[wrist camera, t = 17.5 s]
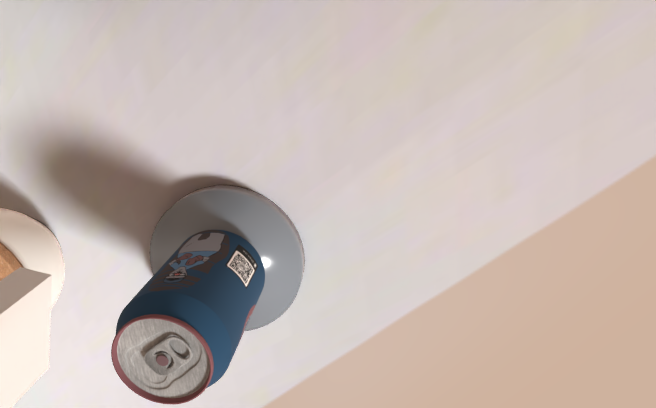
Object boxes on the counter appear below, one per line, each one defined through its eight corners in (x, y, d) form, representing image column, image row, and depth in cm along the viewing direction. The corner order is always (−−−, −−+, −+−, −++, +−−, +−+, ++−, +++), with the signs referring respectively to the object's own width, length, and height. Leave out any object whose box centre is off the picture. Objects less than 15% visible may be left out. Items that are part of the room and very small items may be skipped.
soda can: (221, 318, 40) (160, 431, 29) (162, 254, 39) (75, 347, 28) (287, 274, 39) (248, 377, 27) (228, 205, 37) (161, 284, 26)
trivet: (131, 264, 41) (122, 272, 40) (209, 153, 37) (202, 159, 36) (249, 346, 43) (244, 357, 42) (335, 249, 39) (333, 257, 38)
